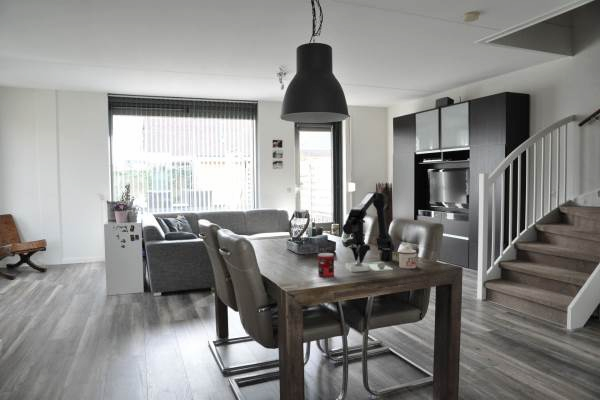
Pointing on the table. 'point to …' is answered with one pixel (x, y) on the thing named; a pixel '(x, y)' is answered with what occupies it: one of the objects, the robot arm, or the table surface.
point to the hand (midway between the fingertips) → (358, 261)
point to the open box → (352, 267)
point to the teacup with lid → (407, 258)
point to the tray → (375, 267)
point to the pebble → (381, 265)
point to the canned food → (326, 265)
